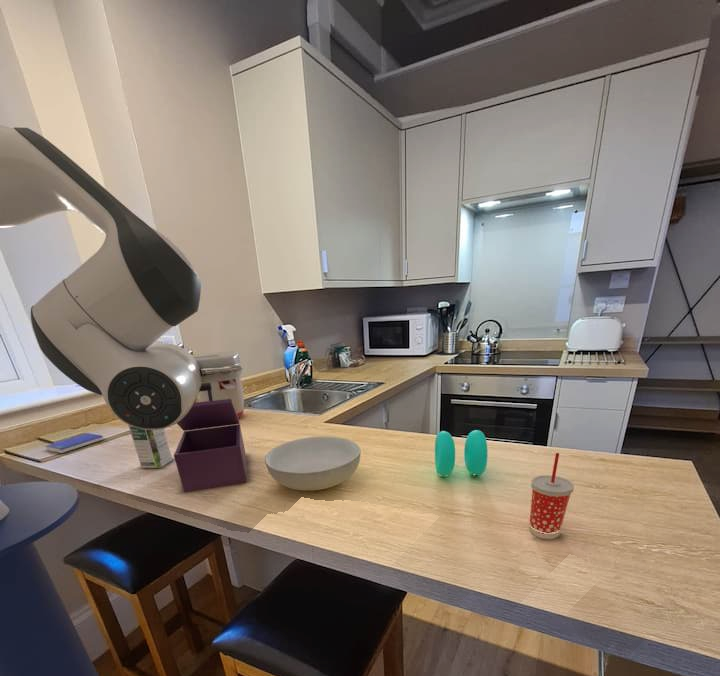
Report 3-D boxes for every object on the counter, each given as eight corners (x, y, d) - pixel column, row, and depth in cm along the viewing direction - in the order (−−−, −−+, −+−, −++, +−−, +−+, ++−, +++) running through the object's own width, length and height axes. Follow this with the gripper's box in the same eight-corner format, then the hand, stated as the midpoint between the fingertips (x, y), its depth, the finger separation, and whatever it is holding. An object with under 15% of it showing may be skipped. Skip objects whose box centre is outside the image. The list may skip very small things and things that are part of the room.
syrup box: (140, 468, 101) (122, 413, 94) (154, 459, 106) (138, 407, 100) (160, 468, 100) (144, 413, 94) (173, 459, 105) (159, 406, 99)
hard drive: (60, 448, 114) (102, 435, 124) (45, 445, 117) (86, 432, 127) (62, 453, 114) (103, 440, 124) (47, 450, 118) (88, 437, 128)
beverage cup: (537, 518, 69) (549, 443, 63) (571, 532, 65) (588, 453, 59) (516, 530, 66) (527, 453, 60) (551, 546, 62) (566, 464, 56)
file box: (247, 482, 90) (239, 446, 86) (183, 492, 86) (173, 455, 83) (245, 455, 105) (239, 424, 101) (192, 463, 102) (184, 431, 98)
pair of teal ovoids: (486, 483, 82) (490, 439, 78) (438, 484, 83) (440, 440, 79) (476, 465, 91) (480, 423, 87) (433, 466, 92) (434, 425, 88)
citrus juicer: (216, 429, 129) (202, 366, 120) (195, 419, 140) (182, 362, 132) (258, 418, 138) (248, 359, 129) (236, 410, 150) (225, 355, 141)
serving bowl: (265, 471, 95) (260, 444, 92) (347, 457, 100) (346, 431, 97) (274, 510, 77) (269, 478, 74) (375, 491, 82) (373, 460, 79)
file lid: (231, 402, 83) (227, 376, 83) (162, 410, 80) (158, 383, 80) (239, 423, 101) (236, 402, 101) (183, 430, 98) (180, 409, 98)
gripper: (239, 346, 57) (238, 339, 69) (80, 360, 52) (110, 350, 64) (246, 390, 59) (245, 376, 72) (97, 407, 55) (122, 389, 67)
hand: (180, 364), depth 68 cm, fingers open, 8 cm apart
